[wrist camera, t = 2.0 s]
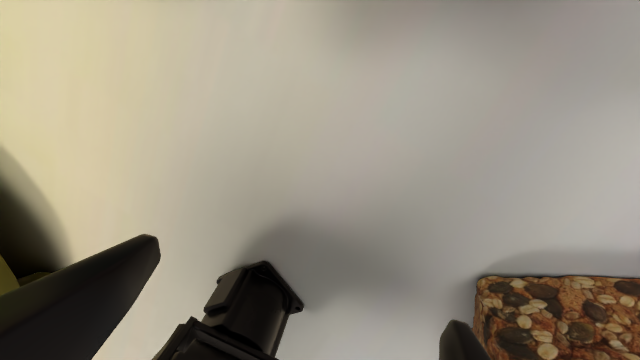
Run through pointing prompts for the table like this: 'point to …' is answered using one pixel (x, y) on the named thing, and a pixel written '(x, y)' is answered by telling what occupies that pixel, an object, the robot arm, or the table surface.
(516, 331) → the bread
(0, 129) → the table surface
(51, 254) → the table surface
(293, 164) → the table surface
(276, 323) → the robot arm
